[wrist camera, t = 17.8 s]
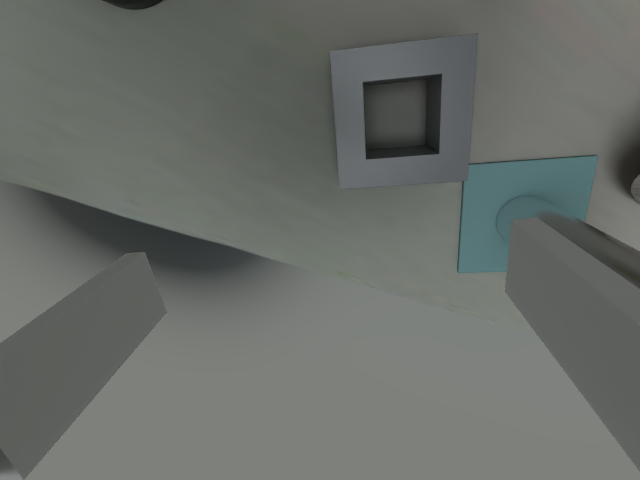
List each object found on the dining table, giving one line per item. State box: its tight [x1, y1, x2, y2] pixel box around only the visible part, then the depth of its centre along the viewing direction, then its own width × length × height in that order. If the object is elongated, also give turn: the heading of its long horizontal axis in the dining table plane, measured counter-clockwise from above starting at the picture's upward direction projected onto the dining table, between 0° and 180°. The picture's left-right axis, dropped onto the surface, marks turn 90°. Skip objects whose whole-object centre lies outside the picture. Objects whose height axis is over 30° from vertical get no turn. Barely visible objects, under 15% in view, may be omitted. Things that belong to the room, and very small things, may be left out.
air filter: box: [496, 195, 640, 289], centre depth 32 cm, size 6×6×25 cm
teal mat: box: [457, 155, 598, 273], centre depth 44 cm, size 15×15×1 cm
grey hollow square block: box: [330, 33, 478, 189], centre depth 38 cm, size 14×14×8 cm
